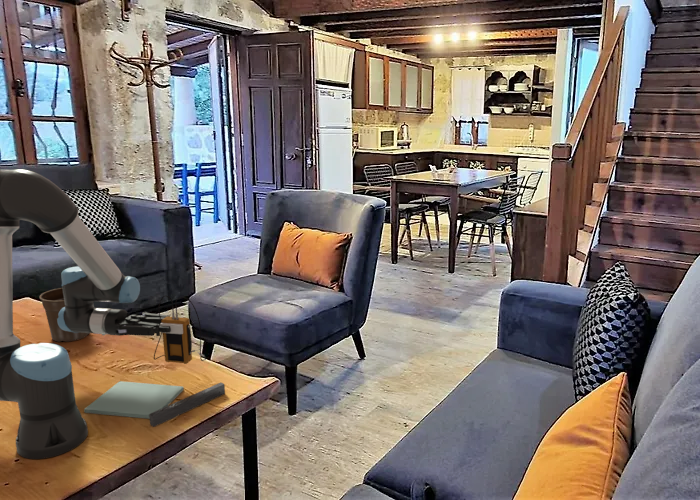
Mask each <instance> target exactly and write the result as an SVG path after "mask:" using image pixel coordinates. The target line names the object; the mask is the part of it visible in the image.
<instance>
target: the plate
mask: <svg viewBox="0 0 700 500" xmlns="http://www.w3.org/2000/svg"><path fill="white" fill-rule="evenodd" d="M183 391H184V385H183V386H182V385H181V386H180V385H169V384H157V383H156V384H155V383H146V382H145V383H144V382H134V381H121V380H120V381H118V382H117V383H115V384H114V385H113V386H111V387H110V388H109V389H107V391H105V392H104V393H103V394H101V395H100V396H99V397H97V399H95V400H94V401H93V402H91V403H90V404H89V405H87V406H86V407H85V408H83V409H84V410H83V411H84V414H96V415H105V416H107V415H108V416H117V417H126V418H137V419H138V418H139V419H148V420H150V418H149V414H151V413H153V412H155V411H157V410H160V409H162V408H164V407H166V406H169V405H171V404H172V402H173V401H174V400H175V399H176V398H177V397H179V395H180V394H181V393H182V392H183Z"/></svg>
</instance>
